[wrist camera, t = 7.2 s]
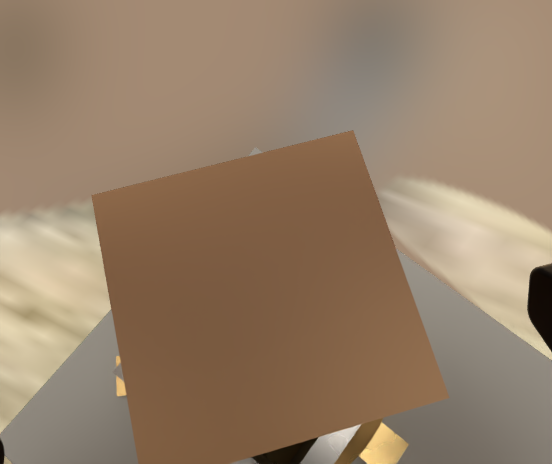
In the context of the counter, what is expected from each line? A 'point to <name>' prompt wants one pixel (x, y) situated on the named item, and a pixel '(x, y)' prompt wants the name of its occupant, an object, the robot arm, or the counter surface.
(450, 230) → the counter surface
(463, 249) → the counter surface
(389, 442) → the gears
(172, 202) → the peg
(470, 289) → the counter surface
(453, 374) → the board
